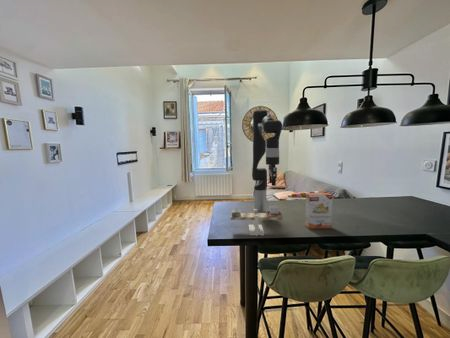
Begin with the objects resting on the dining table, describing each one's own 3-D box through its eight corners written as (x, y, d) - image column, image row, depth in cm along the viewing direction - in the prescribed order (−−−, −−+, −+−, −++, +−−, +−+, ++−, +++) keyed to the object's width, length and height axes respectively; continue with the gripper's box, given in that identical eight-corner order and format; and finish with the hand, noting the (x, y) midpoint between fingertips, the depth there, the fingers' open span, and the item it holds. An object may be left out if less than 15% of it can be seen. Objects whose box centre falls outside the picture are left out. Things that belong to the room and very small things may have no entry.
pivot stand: (249, 235, 122) (249, 215, 120) (248, 226, 135) (248, 208, 133) (263, 235, 121) (263, 215, 120) (261, 226, 134) (261, 208, 133)
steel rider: (268, 213, 129) (268, 205, 129) (277, 213, 129) (277, 205, 128) (269, 216, 124) (269, 207, 124) (278, 216, 124) (278, 207, 123)
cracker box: (308, 229, 128) (309, 195, 126) (304, 225, 134) (305, 192, 132) (332, 228, 128) (333, 194, 126) (327, 225, 134) (328, 192, 132)
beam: (230, 220, 123) (230, 213, 123) (231, 215, 132) (231, 208, 132) (282, 220, 122) (282, 213, 121) (279, 215, 130) (279, 208, 130)
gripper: (281, 156, 115) (281, 186, 117) (276, 155, 129) (276, 182, 131) (267, 157, 116) (267, 186, 118) (264, 155, 130) (264, 182, 132)
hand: (272, 184), depth 124 cm, fingers open, 8 cm apart
